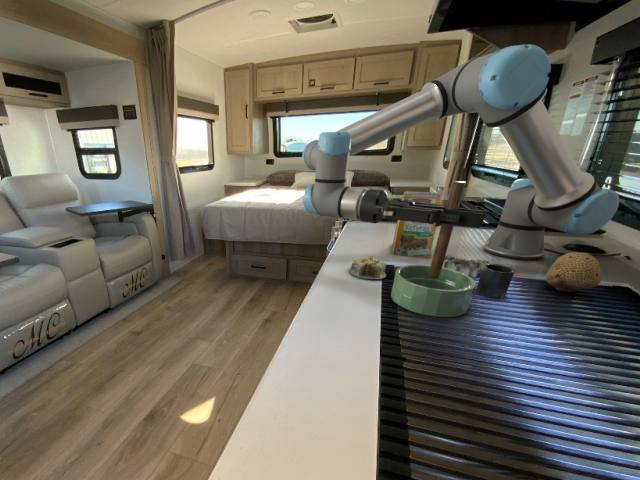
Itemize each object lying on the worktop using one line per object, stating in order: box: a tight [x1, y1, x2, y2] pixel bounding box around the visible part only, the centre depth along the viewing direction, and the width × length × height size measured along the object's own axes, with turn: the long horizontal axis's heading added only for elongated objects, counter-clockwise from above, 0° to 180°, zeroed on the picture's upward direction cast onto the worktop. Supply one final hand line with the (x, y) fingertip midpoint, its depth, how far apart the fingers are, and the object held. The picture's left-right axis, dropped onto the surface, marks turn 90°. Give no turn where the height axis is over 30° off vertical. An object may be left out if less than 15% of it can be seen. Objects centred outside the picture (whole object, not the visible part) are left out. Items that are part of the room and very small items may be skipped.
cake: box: [348, 255, 387, 280], centre depth 92 cm, size 10×10×5 cm
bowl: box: [390, 264, 477, 318], centre depth 75 cm, size 16×16×6 cm
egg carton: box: [442, 254, 490, 278], centre depth 93 cm, size 11×8×4 cm
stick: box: [428, 180, 467, 279], centre depth 69 cm, size 2×2×20 cm
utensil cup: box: [474, 263, 515, 300], centre depth 78 cm, size 6×6×7 cm
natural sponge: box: [545, 251, 603, 293], centre depth 78 cm, size 9×9×10 cm
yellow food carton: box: [392, 191, 443, 259], centre depth 106 cm, size 11×11×19 cm
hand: (482, 219), depth 64 cm, fingers closed on stick, 2 cm apart
